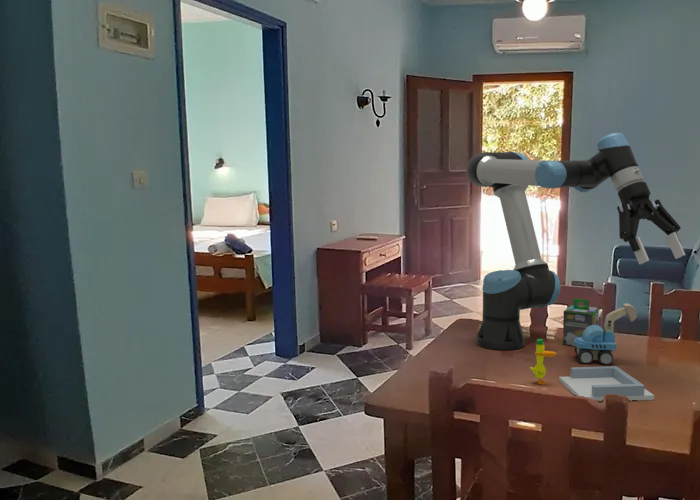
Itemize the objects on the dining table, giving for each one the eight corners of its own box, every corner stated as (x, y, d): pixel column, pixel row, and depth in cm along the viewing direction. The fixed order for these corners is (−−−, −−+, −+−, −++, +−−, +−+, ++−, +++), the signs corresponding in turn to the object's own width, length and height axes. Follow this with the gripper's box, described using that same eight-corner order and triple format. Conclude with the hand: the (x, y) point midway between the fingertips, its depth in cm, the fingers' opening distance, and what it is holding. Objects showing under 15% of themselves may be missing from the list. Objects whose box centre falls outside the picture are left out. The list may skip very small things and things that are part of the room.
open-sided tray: (581, 402, 154) (582, 387, 153) (559, 381, 169) (559, 367, 168) (653, 399, 154) (654, 385, 154) (625, 379, 169) (625, 365, 169)
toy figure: (554, 381, 168) (556, 338, 166) (556, 386, 165) (557, 341, 163) (528, 380, 169) (529, 337, 168) (529, 385, 166) (530, 341, 164)
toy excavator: (637, 367, 179) (640, 308, 177) (576, 364, 182) (578, 306, 180) (630, 357, 187) (633, 301, 185) (571, 355, 191) (573, 299, 188)
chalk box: (598, 342, 204) (600, 297, 202) (591, 349, 196) (593, 302, 194) (569, 338, 209) (570, 294, 207) (561, 344, 202) (563, 299, 200)
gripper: (607, 182, 161) (639, 259, 154) (673, 177, 171) (706, 249, 165) (587, 196, 167) (617, 270, 161) (652, 190, 178) (683, 259, 171)
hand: (662, 259), depth 163 cm, fingers open, 13 cm apart
